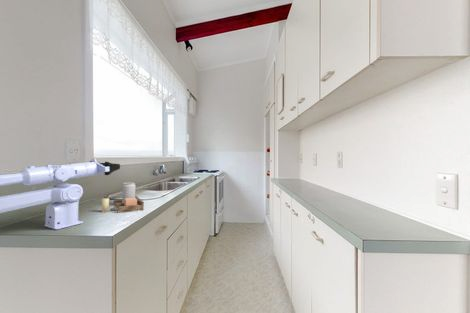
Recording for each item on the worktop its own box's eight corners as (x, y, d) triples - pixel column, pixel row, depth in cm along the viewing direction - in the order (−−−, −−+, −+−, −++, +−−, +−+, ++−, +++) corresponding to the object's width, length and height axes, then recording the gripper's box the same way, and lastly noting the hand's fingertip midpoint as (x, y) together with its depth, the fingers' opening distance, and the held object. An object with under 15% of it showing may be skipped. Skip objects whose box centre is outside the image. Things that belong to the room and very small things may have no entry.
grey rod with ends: (101, 213, 104) (102, 200, 104) (100, 210, 108) (101, 198, 108) (136, 209, 113) (137, 197, 113) (134, 207, 117) (135, 195, 117)
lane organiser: (118, 212, 106) (118, 204, 106) (113, 204, 121) (113, 197, 121) (143, 210, 112) (143, 202, 112) (135, 202, 127) (135, 195, 127)
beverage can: (137, 204, 123) (138, 182, 123) (130, 207, 117) (131, 183, 117) (126, 203, 124) (126, 181, 124) (119, 206, 118) (119, 183, 118)
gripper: (94, 160, 88) (124, 157, 100) (71, 159, 94) (102, 156, 107) (94, 178, 89) (125, 173, 101) (72, 176, 95) (103, 171, 107)
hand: (113, 166), depth 104 cm, fingers open, 7 cm apart
